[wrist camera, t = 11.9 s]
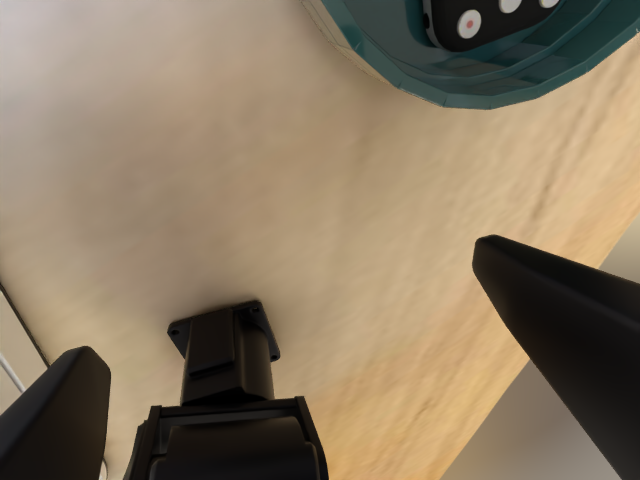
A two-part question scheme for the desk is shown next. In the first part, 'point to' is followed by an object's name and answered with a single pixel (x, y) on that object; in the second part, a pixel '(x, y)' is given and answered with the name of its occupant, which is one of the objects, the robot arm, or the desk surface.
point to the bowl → (475, 49)
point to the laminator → (19, 359)
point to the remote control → (480, 20)
